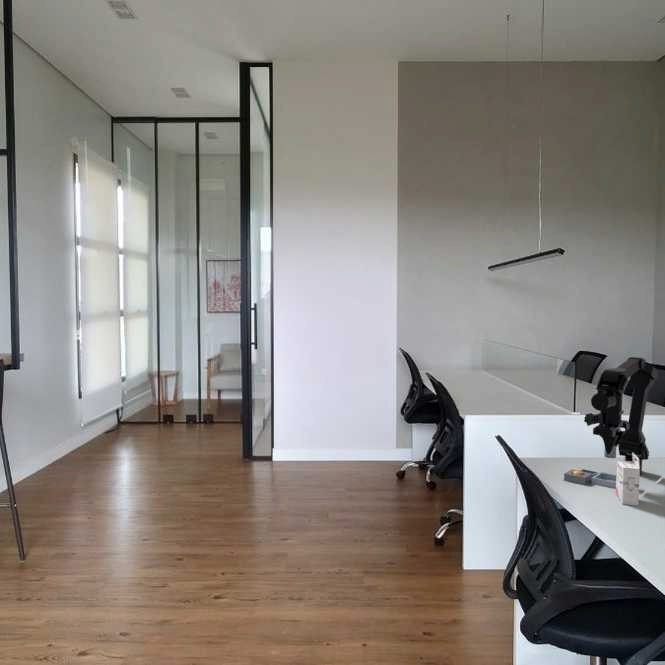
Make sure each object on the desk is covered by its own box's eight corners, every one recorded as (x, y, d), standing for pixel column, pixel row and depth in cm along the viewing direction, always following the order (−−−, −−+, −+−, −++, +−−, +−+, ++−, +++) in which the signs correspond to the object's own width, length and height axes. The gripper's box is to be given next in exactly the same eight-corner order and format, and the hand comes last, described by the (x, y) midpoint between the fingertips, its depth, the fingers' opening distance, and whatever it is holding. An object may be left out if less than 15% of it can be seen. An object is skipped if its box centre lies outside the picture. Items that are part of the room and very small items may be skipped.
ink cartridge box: (614, 495, 196) (616, 450, 195) (631, 496, 195) (633, 451, 194) (621, 504, 187) (623, 457, 186) (638, 506, 186) (641, 458, 185)
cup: (600, 478, 213) (600, 471, 213) (628, 484, 207) (629, 477, 207) (591, 485, 206) (591, 477, 206) (620, 491, 200) (620, 483, 200)
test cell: (606, 454, 209) (606, 442, 209) (617, 456, 206) (617, 444, 206) (602, 456, 206) (603, 444, 206) (613, 458, 204) (614, 446, 204)
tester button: (575, 477, 211) (575, 470, 211) (583, 479, 209) (584, 472, 209) (572, 479, 209) (572, 472, 209) (580, 481, 207) (581, 473, 207)
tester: (578, 471, 221) (579, 463, 221) (601, 476, 216) (602, 468, 216) (562, 481, 209) (562, 473, 209) (586, 487, 204) (586, 478, 204)
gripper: (597, 400, 218) (595, 443, 219) (578, 407, 204) (576, 453, 205) (630, 405, 210) (628, 449, 211) (612, 412, 196) (610, 459, 197)
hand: (610, 452), depth 206 cm, fingers closed on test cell, 4 cm apart
